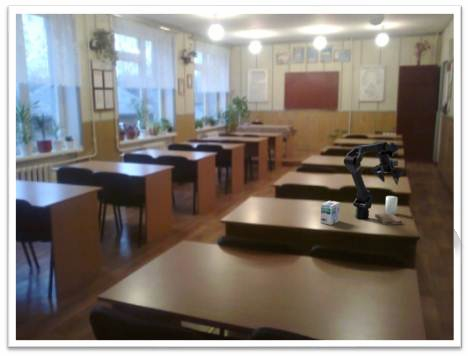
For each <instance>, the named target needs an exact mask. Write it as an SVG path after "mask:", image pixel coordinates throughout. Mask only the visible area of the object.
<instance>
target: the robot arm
mask: <svg viewBox="0 0 468 356" xmlns="http://www.w3.org/2000/svg"><path fill="white" fill-rule="evenodd" d="M371 152H377V153H376V155H375V158H377V159H378V161H379V164H376V165H375V166H374V167H372V169H371V172H372V174H373V175H375V176H376V177H378V179H380V181H381V182H383V183H385V180H386V178H385V175H384V173H385V174H391V175H392V180H393V181H394V184H395V185H396V186H397V185H399V181H400V177H402V176H403V175H404V174H405V170H404V169H403V168H396V167H397V166H399V160H398V159H391V158H390V157H393V156H394V155H395V154H397V153H398V152H399V147H398V146H397V145H396V144H395V142H390V143H388V141H380V140H376V141H374V142H372V143H369V144H362V145H355V146H354V147H353V149H352V150H350V151H349V152H348V153H347V154H346V155H345V157H344V159H343V165H344V166H345V168H346V169H347V171H349V172H350V175H351V177H352V180H353V183H354V186H355V189H356V192H357V193H356V195H355V197H356V198H355V200H354V201H353V205H352V206H353V207H355V214H354V217H355V218H356V219H357V220H369V216H370V210H369V209H371V208H372V205H373V201H374V198H373V197H374V195H373V194H372V191H371V190H368V189H367V188H366V185H365V182H364V179H363V176H362V174H361V173H362V172H361V170H360V169H361V167H362V166H361V163H362V161H363V159H364V154H365V153H371ZM357 154H358V156H356V155H357ZM395 168H396V169H395Z"/></svg>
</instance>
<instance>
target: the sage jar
mask: <svg viewBox="0 0 468 356" xmlns="http://www.w3.org/2000/svg"><path fill="white" fill-rule="evenodd" d="M398 198H399V197H397V196H394V195H387V196H385V207H384V208H385V209H384V214H385V213H386V214H393V215H394V216H396V215H397V210H398ZM395 214H396V215H395Z"/></svg>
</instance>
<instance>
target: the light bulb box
mask: <svg viewBox="0 0 468 356" xmlns="http://www.w3.org/2000/svg"><path fill="white" fill-rule="evenodd" d="M320 206H321V207H320V223H321V224H324V225H330V226H332V225H334V224H336V223H338V222H340V207H341V202H338V201H335V200H333V201H332V200H328V201H326V202H323V203H321V205H320Z"/></svg>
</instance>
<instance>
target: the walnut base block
mask: <svg viewBox="0 0 468 356" xmlns="http://www.w3.org/2000/svg"><path fill="white" fill-rule="evenodd" d="M375 217H376V218H377V219H378V220H377V219H376V218H375ZM374 218H375V219H376V220H377V221H379V222H380V223H381V224H382V225H383V224H401V225H402V224H403V223H402V220H401V219H400V218H399V217H397V216H396V215H393V214H385V213H375V214H374Z"/></svg>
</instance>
